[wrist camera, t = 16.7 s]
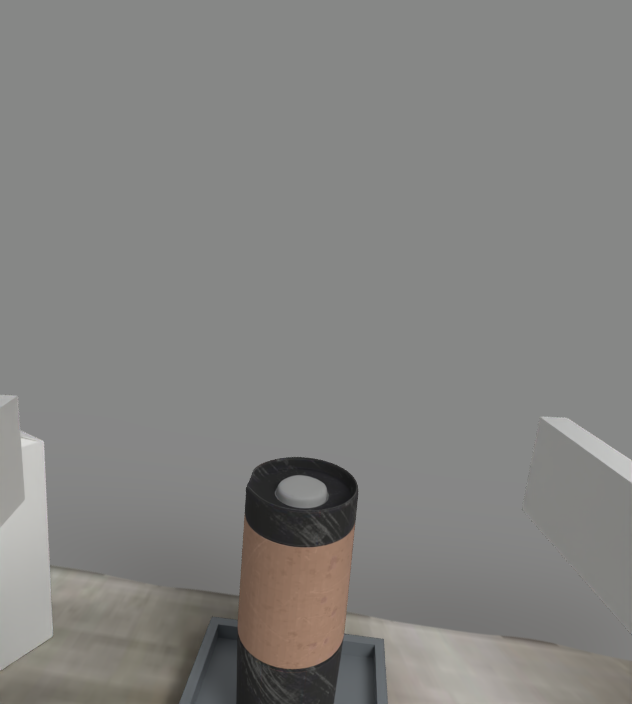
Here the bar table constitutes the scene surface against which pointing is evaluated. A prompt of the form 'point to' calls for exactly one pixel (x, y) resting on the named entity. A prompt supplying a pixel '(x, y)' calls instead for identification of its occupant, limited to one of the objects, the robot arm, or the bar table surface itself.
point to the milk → (26, 563)
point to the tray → (221, 669)
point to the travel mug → (294, 581)
